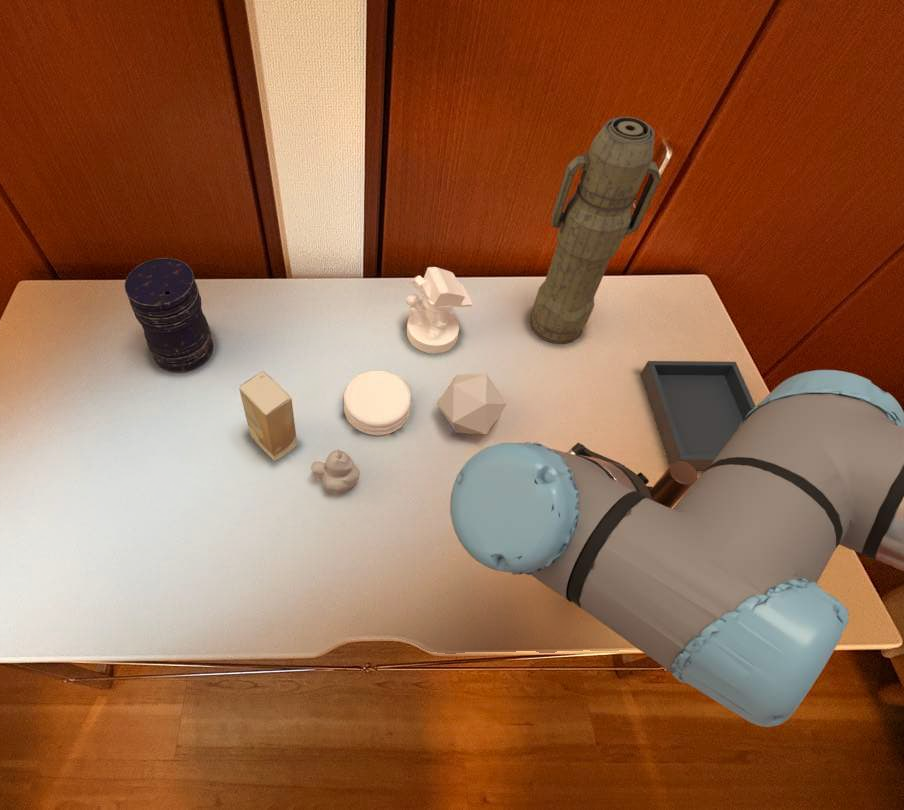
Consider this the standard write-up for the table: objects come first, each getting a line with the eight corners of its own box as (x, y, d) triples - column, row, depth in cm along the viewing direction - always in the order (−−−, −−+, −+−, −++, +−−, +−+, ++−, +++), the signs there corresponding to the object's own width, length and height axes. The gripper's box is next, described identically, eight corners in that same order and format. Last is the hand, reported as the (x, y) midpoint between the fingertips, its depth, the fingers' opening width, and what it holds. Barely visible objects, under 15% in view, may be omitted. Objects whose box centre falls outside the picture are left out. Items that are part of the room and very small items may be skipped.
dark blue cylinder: (143, 342, 100) (113, 273, 88) (198, 318, 103) (177, 248, 91) (167, 383, 95) (139, 316, 83) (224, 356, 99) (205, 288, 86)
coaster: (423, 412, 92) (425, 399, 90) (373, 448, 89) (373, 435, 86) (380, 372, 97) (381, 358, 94) (330, 405, 93) (329, 391, 90)
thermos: (597, 344, 101) (691, 147, 72) (525, 344, 100) (591, 147, 72) (585, 305, 106) (668, 107, 77) (517, 305, 106) (575, 107, 77)
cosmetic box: (249, 435, 90) (235, 385, 80) (272, 419, 92) (262, 367, 82) (276, 464, 87) (265, 415, 77) (299, 446, 89) (292, 396, 79)
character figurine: (399, 319, 104) (404, 265, 94) (452, 308, 105) (462, 254, 95) (416, 358, 99) (422, 304, 89) (471, 346, 100) (483, 293, 90)
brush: (639, 530, 70) (713, 447, 56) (652, 573, 67) (733, 497, 53) (579, 531, 70) (636, 449, 55) (589, 574, 67) (652, 499, 52)
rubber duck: (357, 500, 84) (356, 471, 77) (309, 495, 84) (305, 466, 78) (361, 466, 87) (361, 435, 81) (315, 461, 87) (311, 431, 81)
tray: (767, 471, 87) (780, 460, 84) (672, 470, 87) (681, 459, 84) (726, 373, 97) (735, 361, 95) (640, 373, 97) (647, 360, 95)
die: (481, 391, 96) (449, 354, 90) (525, 406, 89) (493, 367, 83) (451, 435, 95) (416, 400, 88) (493, 454, 88) (458, 418, 81)
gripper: (494, 462, 52) (588, 476, 70) (621, 628, 44) (690, 595, 62) (560, 401, 49) (641, 432, 67) (709, 566, 41) (754, 551, 59)
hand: (664, 510), depth 64 cm, fingers closed on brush, 2 cm apart
